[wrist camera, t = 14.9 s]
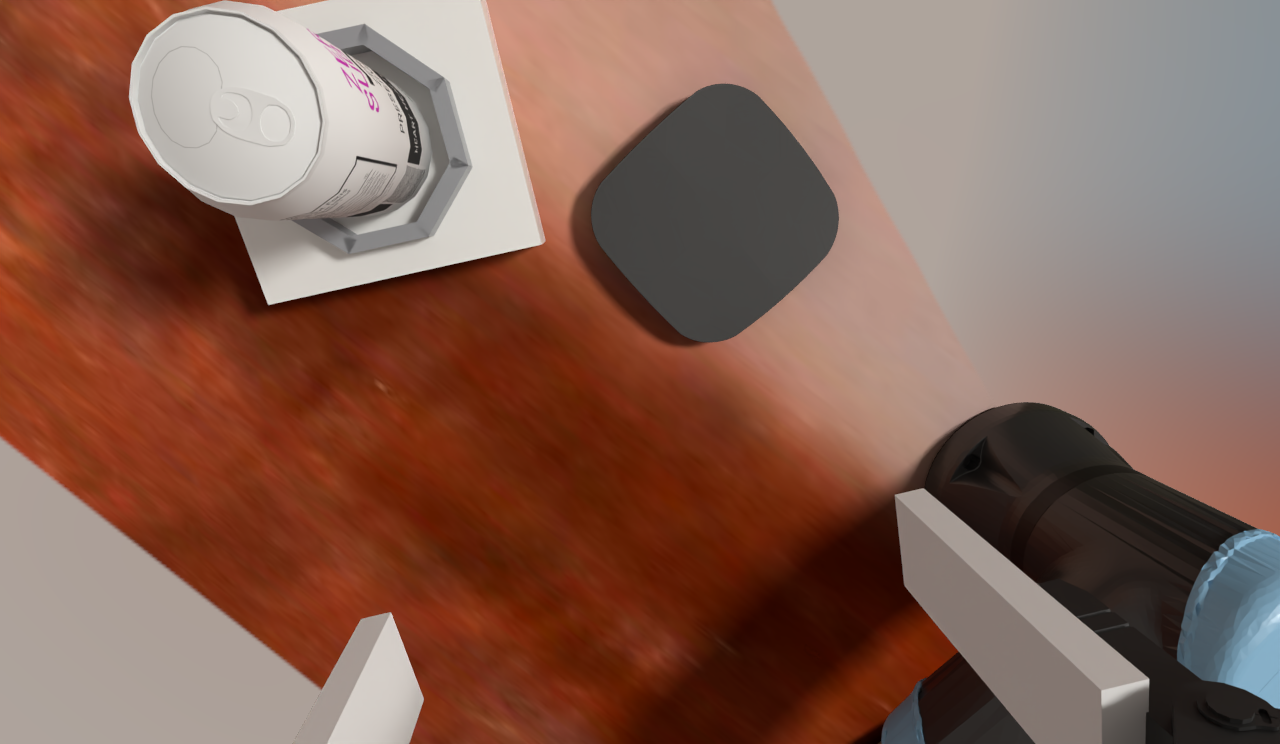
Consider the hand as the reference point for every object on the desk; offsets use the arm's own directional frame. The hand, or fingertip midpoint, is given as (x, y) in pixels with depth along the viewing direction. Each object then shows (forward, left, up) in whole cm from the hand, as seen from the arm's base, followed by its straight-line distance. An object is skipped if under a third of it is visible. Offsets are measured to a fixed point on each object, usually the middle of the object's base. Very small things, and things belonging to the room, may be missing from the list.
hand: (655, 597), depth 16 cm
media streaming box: (-9, -7, -32) cm, 34 cm away
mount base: (+12, -16, -32) cm, 37 cm away
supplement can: (+12, -16, -28) cm, 34 cm away
